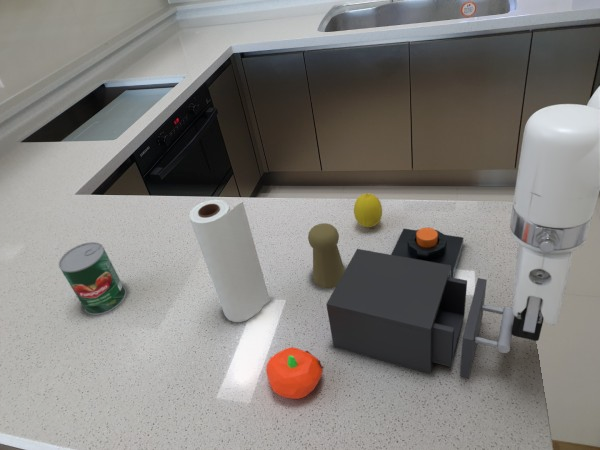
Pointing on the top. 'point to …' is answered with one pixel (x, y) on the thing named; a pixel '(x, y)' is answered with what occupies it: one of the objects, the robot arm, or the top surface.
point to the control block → (430, 249)
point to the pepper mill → (325, 255)
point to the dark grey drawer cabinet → (388, 308)
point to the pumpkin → (293, 373)
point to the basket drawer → (451, 323)
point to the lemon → (368, 210)
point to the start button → (426, 237)
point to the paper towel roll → (230, 258)
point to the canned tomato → (92, 278)
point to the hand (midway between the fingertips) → (525, 333)
